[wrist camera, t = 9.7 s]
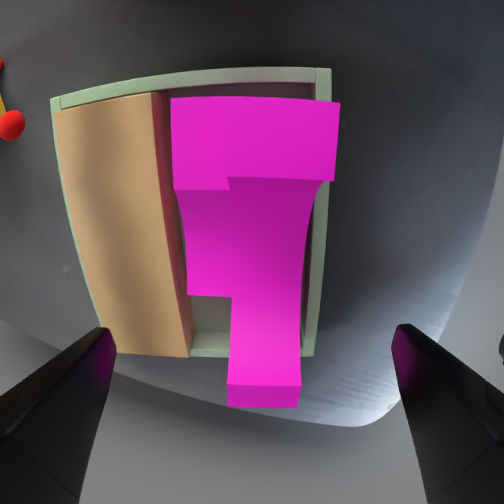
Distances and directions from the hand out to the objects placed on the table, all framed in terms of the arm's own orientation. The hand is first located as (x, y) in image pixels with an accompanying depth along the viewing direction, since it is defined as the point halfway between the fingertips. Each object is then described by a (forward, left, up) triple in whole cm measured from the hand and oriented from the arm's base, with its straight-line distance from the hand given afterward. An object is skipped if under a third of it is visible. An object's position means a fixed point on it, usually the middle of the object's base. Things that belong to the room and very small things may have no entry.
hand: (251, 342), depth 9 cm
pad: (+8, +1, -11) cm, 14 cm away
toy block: (+1, +1, -11) cm, 11 cm away
